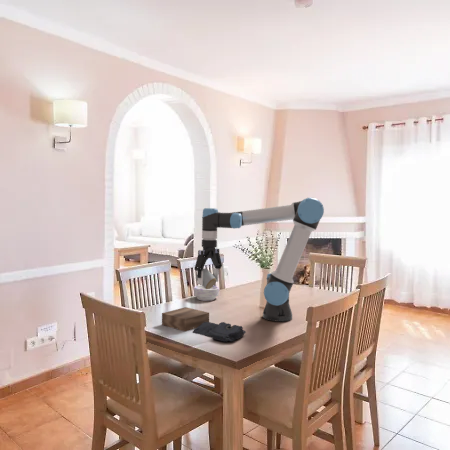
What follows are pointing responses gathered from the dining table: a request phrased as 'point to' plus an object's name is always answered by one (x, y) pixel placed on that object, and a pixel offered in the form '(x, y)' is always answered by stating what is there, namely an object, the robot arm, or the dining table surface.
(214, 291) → the paper bowls
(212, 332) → the black flat crumpled piece
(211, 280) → the ceramic mug
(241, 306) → the dining table surface
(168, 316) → the walnut riser block
